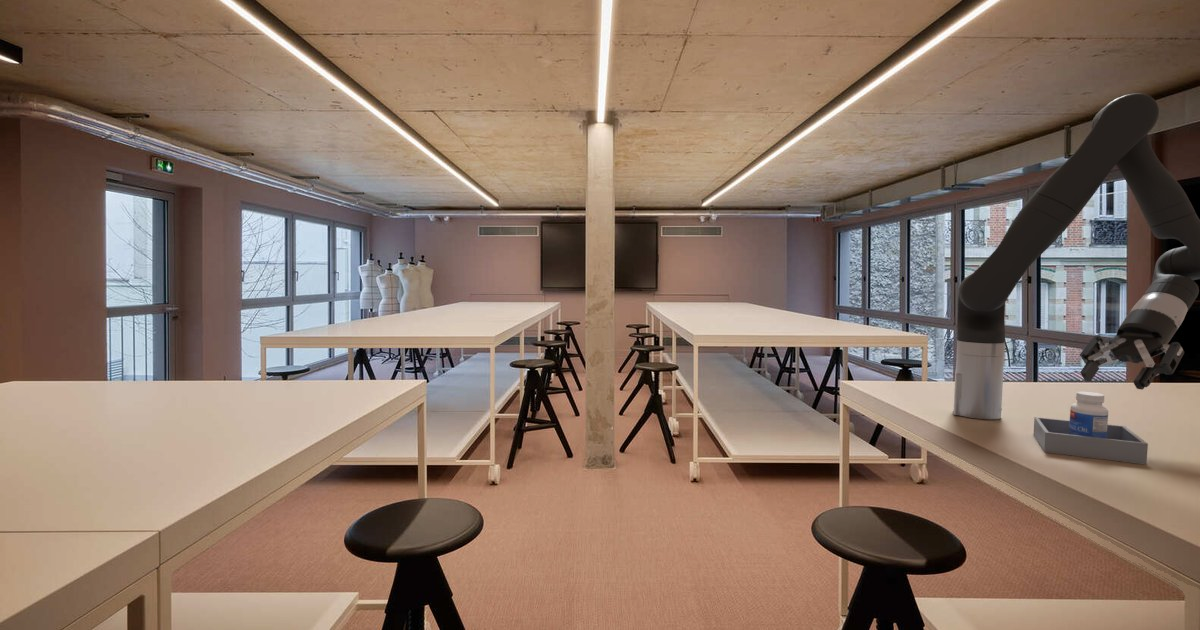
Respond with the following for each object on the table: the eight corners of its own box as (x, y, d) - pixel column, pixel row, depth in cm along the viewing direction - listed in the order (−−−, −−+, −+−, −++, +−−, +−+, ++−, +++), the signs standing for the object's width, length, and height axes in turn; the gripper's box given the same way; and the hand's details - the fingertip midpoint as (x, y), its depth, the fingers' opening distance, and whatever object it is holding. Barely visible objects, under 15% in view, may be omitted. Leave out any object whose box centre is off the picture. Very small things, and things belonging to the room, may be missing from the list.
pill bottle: (1060, 441, 111) (1063, 390, 111) (1087, 440, 112) (1089, 390, 111) (1086, 449, 106) (1089, 396, 105) (1114, 449, 106) (1117, 396, 106)
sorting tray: (1044, 451, 106) (1045, 432, 106) (1033, 434, 118) (1034, 417, 118) (1146, 464, 99) (1147, 443, 99) (1124, 444, 111) (1125, 426, 111)
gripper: (1102, 305, 119) (1061, 363, 116) (1192, 309, 106) (1148, 375, 102) (1117, 331, 121) (1077, 388, 118) (1207, 337, 108) (1165, 403, 105)
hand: (1110, 382), depth 110 cm, fingers open, 8 cm apart
